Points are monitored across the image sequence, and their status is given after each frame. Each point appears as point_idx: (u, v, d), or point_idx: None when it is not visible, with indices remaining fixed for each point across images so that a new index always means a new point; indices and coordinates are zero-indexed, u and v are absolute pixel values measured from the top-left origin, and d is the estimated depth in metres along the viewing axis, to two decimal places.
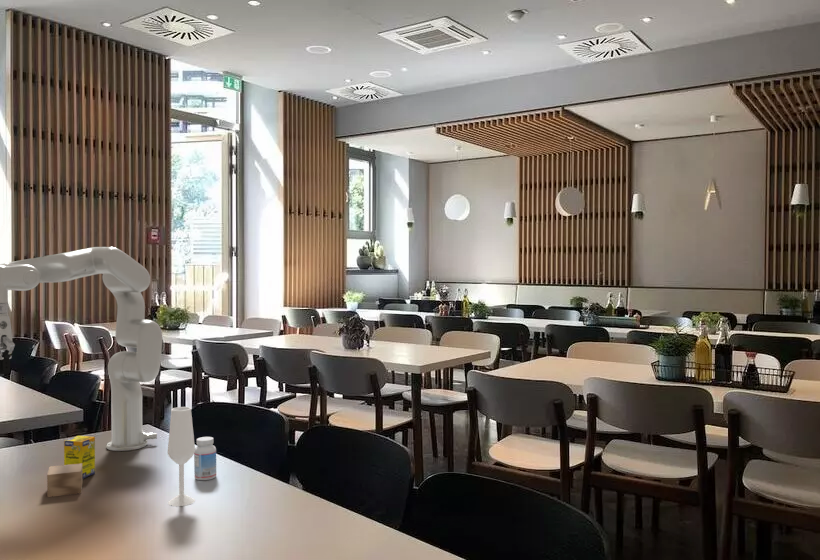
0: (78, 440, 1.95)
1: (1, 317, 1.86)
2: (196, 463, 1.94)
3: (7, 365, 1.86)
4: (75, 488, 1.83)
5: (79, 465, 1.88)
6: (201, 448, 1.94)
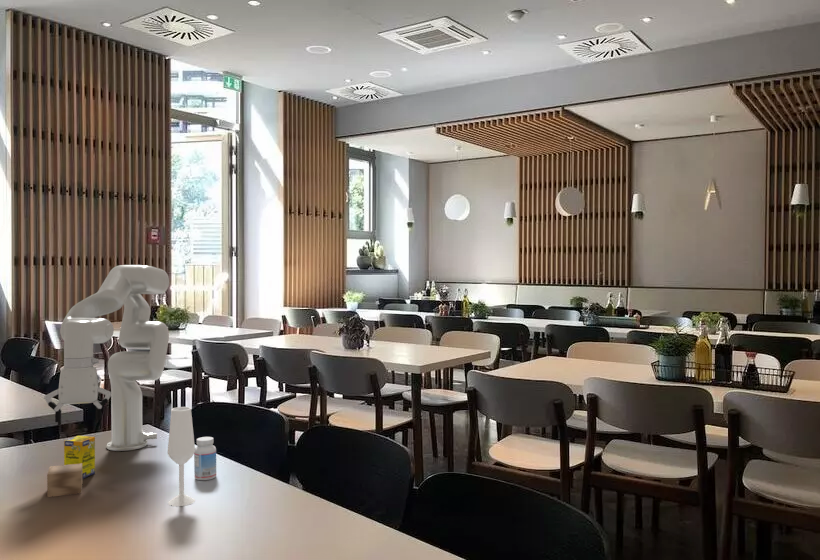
0: (78, 440, 1.95)
1: (95, 369, 1.98)
2: (196, 463, 1.94)
3: None
4: (75, 488, 1.83)
5: (79, 465, 1.88)
6: (201, 448, 1.94)
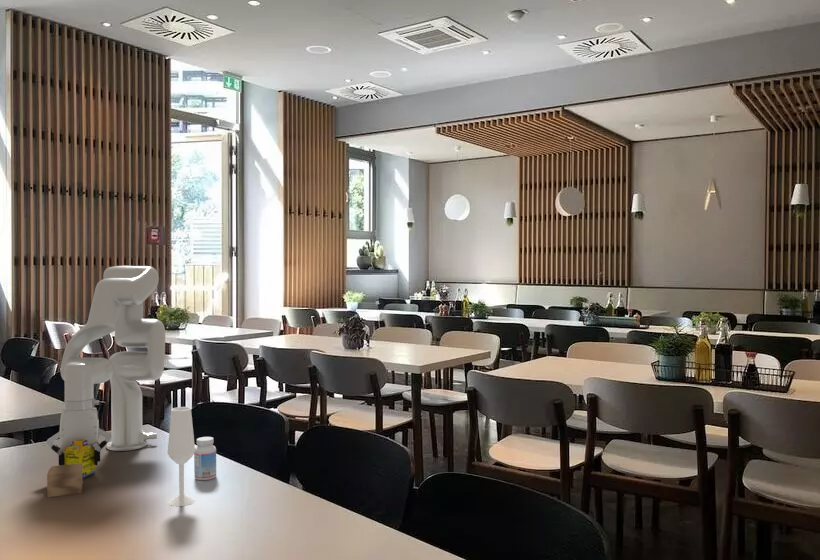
0: (78, 440, 1.95)
1: (96, 410, 1.99)
2: (196, 463, 1.94)
3: None
4: (75, 488, 1.83)
5: (79, 465, 1.88)
6: (201, 448, 1.94)
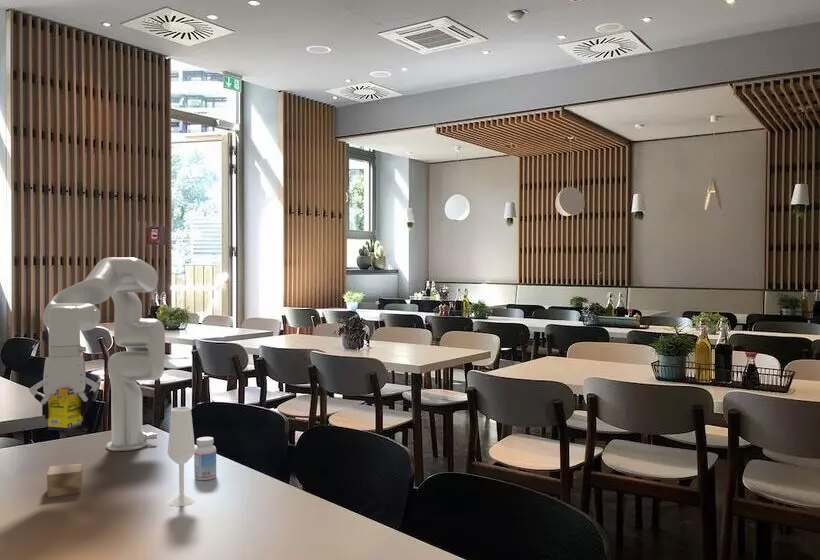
0: None
1: (82, 358, 1.86)
2: (196, 463, 1.94)
3: None
4: (75, 488, 1.83)
5: (79, 465, 1.88)
6: (201, 448, 1.94)
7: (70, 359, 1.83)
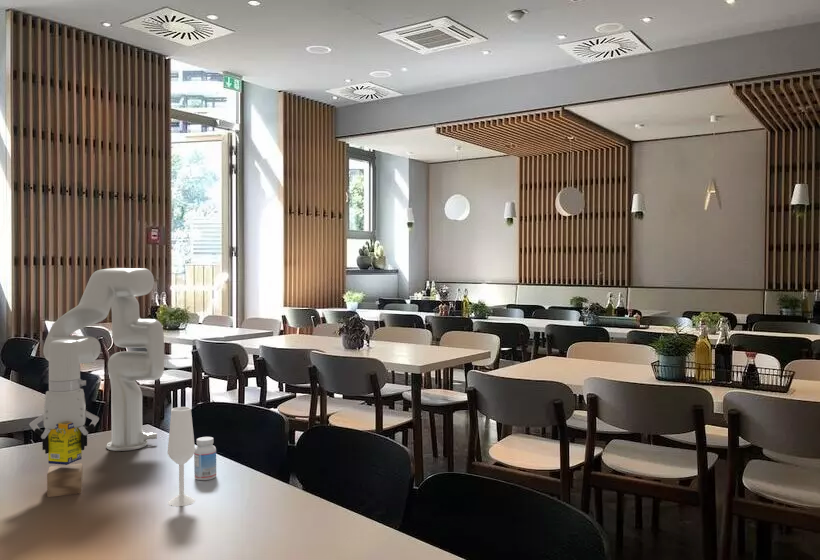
0: (63, 423, 1.83)
1: (83, 391, 1.86)
2: (196, 463, 1.94)
3: None
4: (75, 488, 1.83)
5: (79, 465, 1.88)
6: (201, 448, 1.94)
7: (70, 393, 1.83)
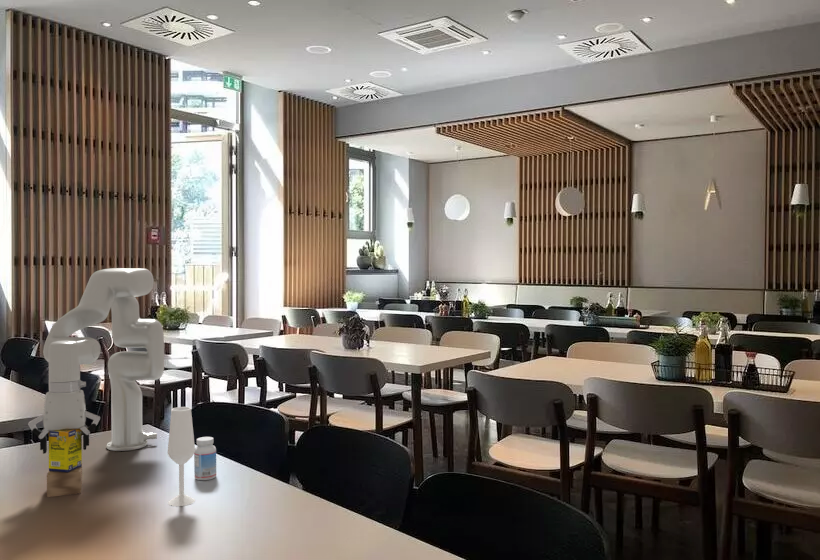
0: (64, 430, 1.83)
1: (82, 392, 1.86)
2: (196, 463, 1.94)
3: None
4: (74, 488, 1.83)
5: None
6: (201, 448, 1.94)
7: (70, 394, 1.83)
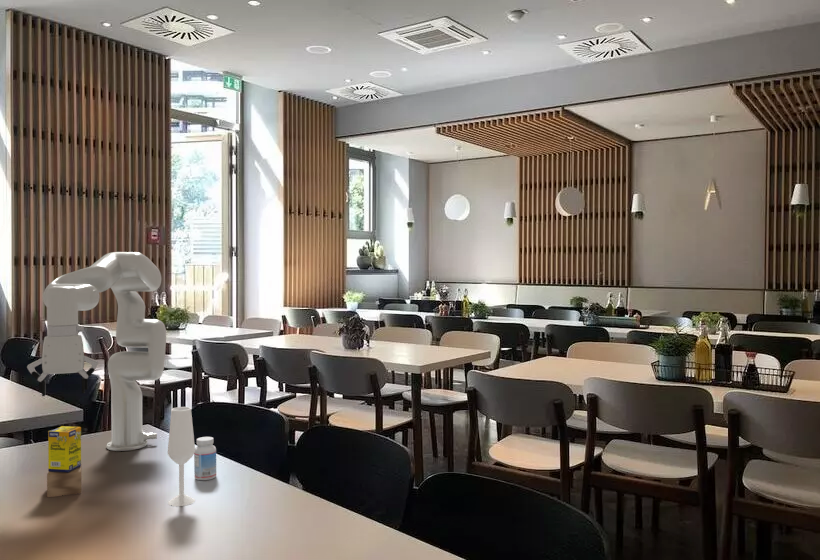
0: (64, 430, 1.83)
1: (81, 337, 1.89)
2: (196, 463, 1.94)
3: (87, 383, 1.90)
4: (75, 488, 1.83)
5: None
6: (201, 448, 1.94)
7: (68, 338, 1.86)
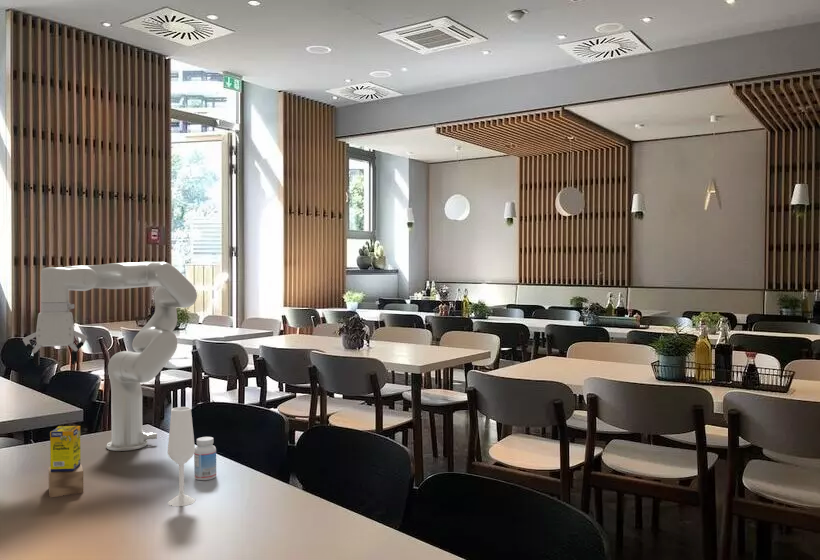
0: (67, 430, 1.83)
1: (71, 314, 2.09)
2: (196, 463, 1.94)
3: None
4: (77, 488, 1.83)
5: None
6: (201, 448, 1.94)
7: (60, 314, 2.06)
